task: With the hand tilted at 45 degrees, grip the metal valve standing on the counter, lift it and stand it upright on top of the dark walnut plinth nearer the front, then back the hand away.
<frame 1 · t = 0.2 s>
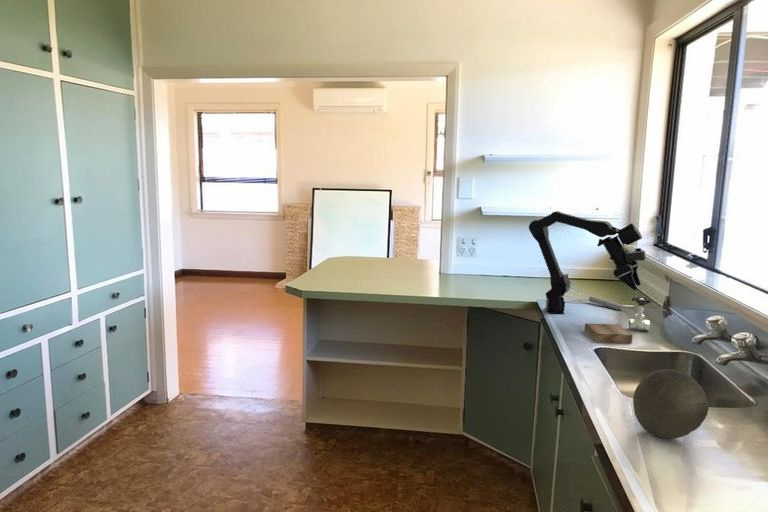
hand: (637, 287, 201), 15 cm above the countertop, tool tilted 35°, fingers open, 9 cm apart
valve: (638, 330, 197), on the countertop
walnut plinth: (607, 337, 188), on the countertop
kitchen whisk: (589, 303, 236), on the countertop
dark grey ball: (665, 436, 119), on the countertop
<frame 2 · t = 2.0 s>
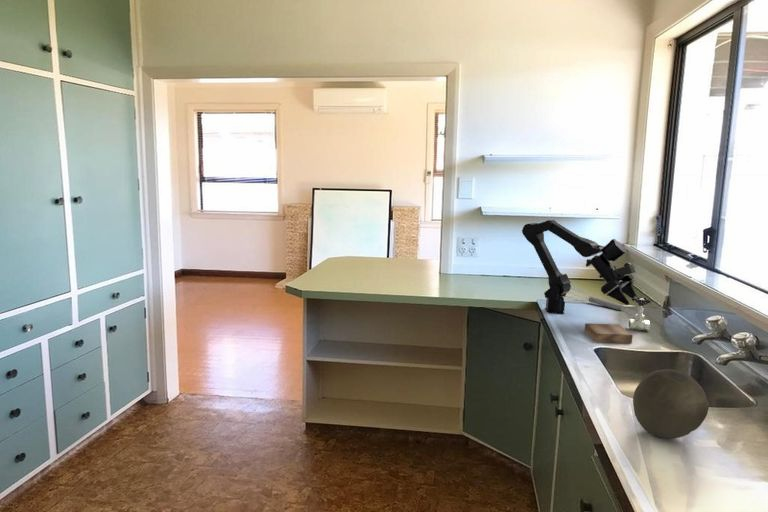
hand: (632, 302, 198), 10 cm above the countertop, tool tilted 45°, fingers open, 9 cm apart
nothing on the countertop moved.
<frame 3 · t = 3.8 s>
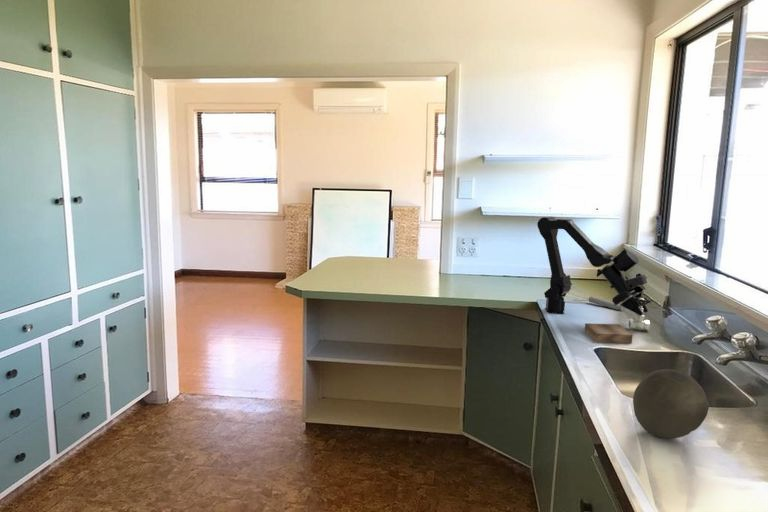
hand: (644, 313, 195), 7 cm above the countertop, tool tilted 45°, fingers closed on valve, 5 cm apart
valve: (638, 330, 197), on the countertop, touching gripper
everything else where it was.
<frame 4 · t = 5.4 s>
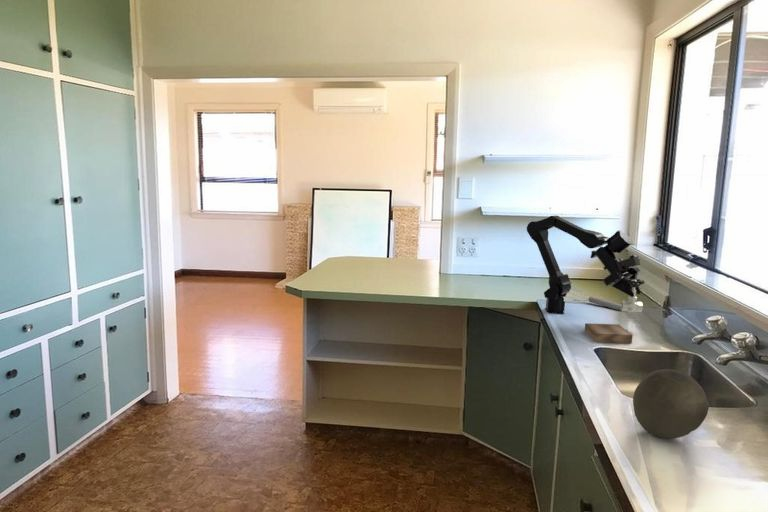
hand: (636, 295, 194), 13 cm above the countertop, tool tilted 45°, fingers closed on valve, 5 cm apart
valve: (631, 312, 197), point 7 cm above the countertop, touching gripper
everything else where it was.
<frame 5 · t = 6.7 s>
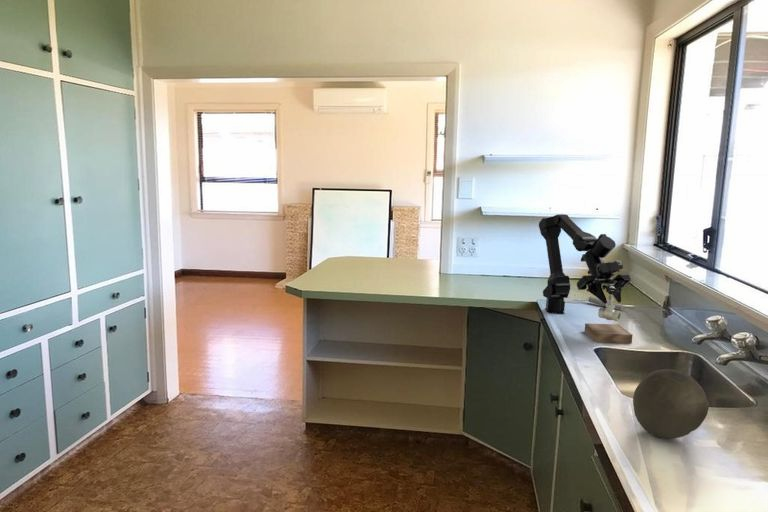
hand: (613, 302, 185), 13 cm above the countertop, tool tilted 45°, fingers closed on valve, 5 cm apart
valve: (608, 320, 187), point 6 cm above the countertop, touching gripper
everything else where it was.
when the fingers open (11 cm above the countertop, at t = 7.5 s): valve drops 1 cm, resting on walnut plinth.
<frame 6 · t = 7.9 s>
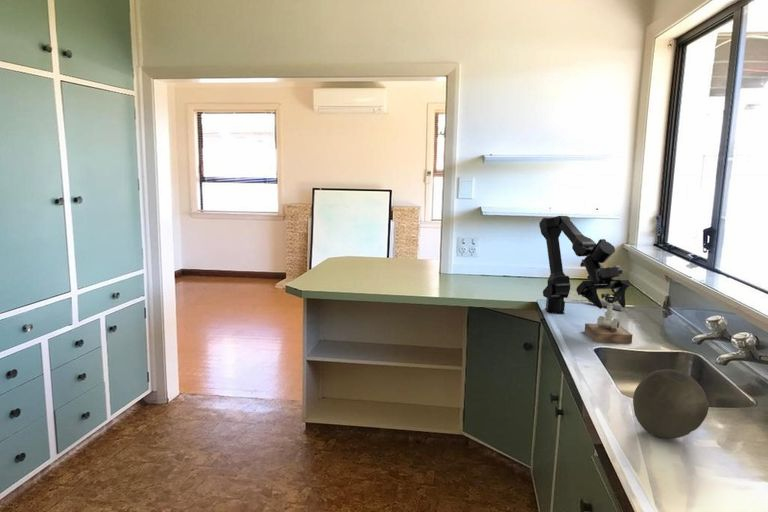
hand: (612, 307, 185), 11 cm above the countertop, tool tilted 45°, fingers open, 9 cm apart
valve: (607, 329, 188), point 3 cm above the countertop, touching walnut plinth
everything else where it was.
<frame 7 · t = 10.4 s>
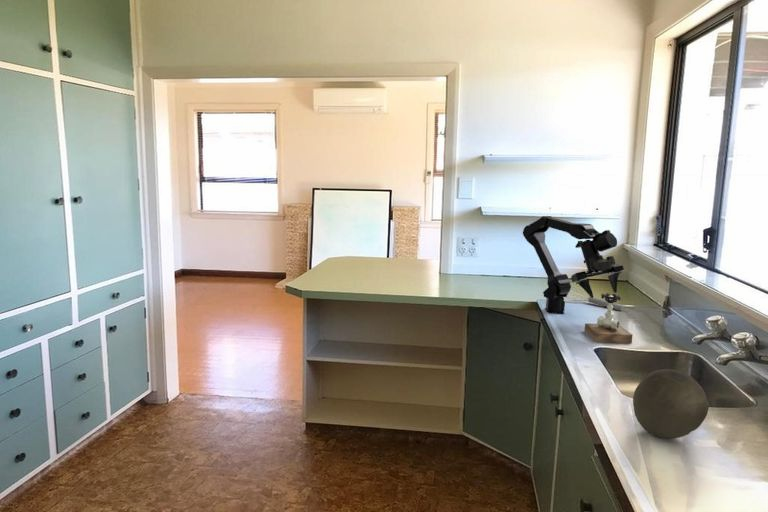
hand: (604, 295, 199), 12 cm above the countertop, tool tilted 25°, fingers open, 9 cm apart
nothing on the countertop moved.
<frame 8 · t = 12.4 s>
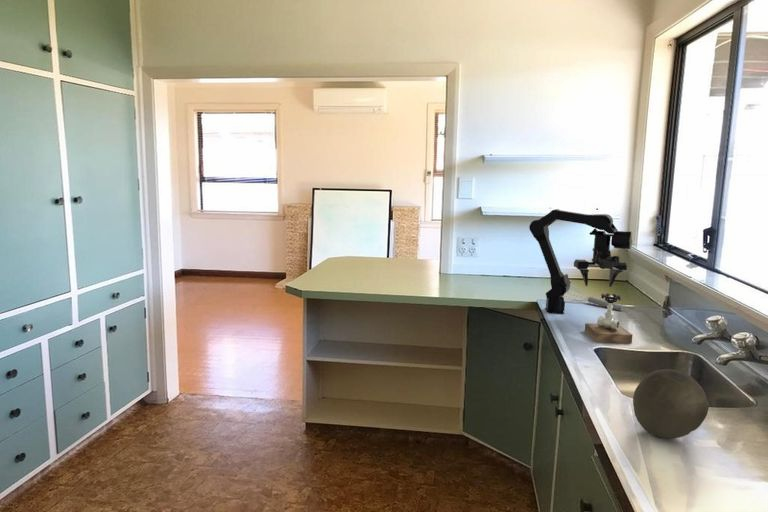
hand: (598, 286, 209), 13 cm above the countertop, tool pointing down, fingers open, 9 cm apart
at the end: valve inside the target area on the walnut plinth (0.3 cm from its centre), point 2.8 cm above the walnut plinth's base; valve tilted 0°; the gripper is holding nothing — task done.
